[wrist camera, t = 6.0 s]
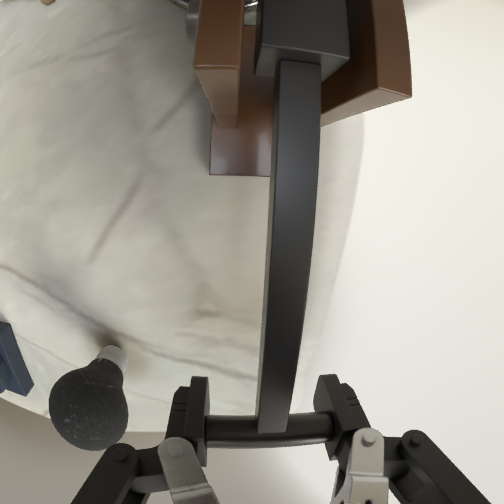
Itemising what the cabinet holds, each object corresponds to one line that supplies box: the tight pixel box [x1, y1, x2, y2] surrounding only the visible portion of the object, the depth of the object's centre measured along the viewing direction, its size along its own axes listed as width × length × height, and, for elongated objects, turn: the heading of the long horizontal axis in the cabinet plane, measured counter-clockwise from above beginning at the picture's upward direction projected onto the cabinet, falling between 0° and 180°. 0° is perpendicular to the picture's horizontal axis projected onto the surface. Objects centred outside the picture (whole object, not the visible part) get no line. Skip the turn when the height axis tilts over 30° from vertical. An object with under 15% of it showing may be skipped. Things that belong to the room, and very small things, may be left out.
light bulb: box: [49, 345, 128, 451], centre depth 17 cm, size 6×6×10 cm
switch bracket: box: [185, 0, 412, 177], centre depth 11 cm, size 10×6×13 cm, turn 177°
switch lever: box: [205, 0, 350, 449], centre depth 8 cm, size 16×5×2 cm, turn 178°
